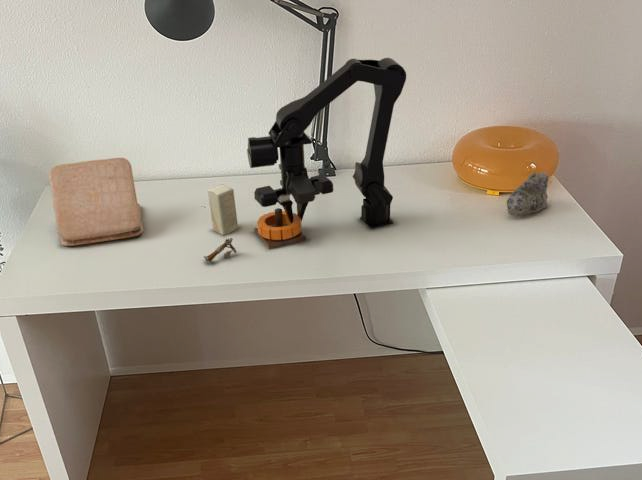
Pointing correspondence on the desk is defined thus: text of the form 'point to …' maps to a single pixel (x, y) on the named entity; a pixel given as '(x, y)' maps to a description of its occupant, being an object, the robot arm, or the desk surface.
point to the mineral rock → (529, 195)
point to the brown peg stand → (278, 243)
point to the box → (223, 209)
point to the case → (95, 201)
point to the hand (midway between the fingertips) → (295, 222)
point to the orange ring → (278, 232)
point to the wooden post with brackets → (219, 249)
